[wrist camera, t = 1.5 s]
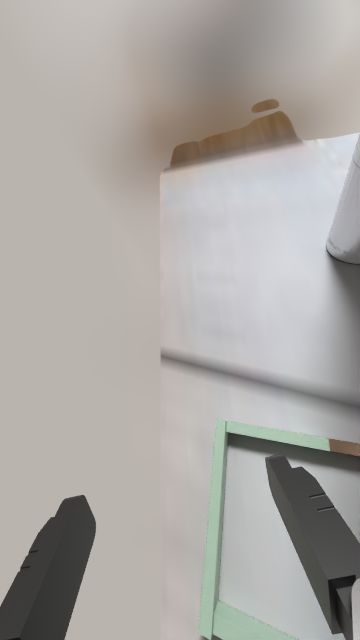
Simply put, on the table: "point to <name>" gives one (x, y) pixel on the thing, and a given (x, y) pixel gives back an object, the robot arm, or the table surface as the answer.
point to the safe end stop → (215, 616)
